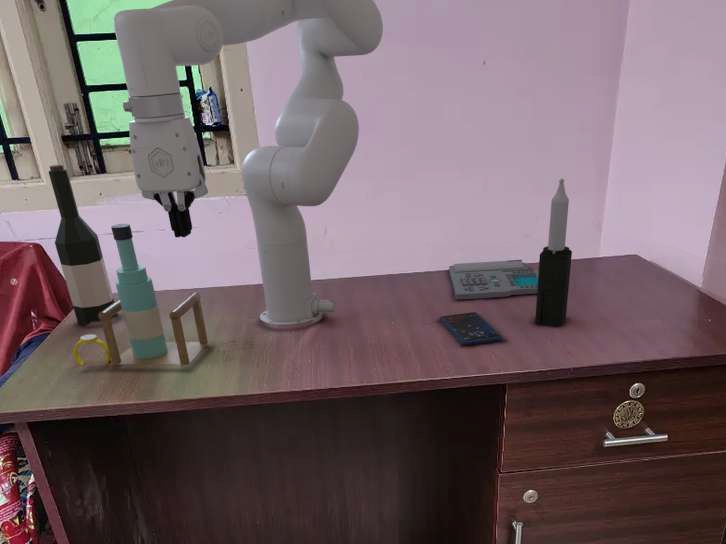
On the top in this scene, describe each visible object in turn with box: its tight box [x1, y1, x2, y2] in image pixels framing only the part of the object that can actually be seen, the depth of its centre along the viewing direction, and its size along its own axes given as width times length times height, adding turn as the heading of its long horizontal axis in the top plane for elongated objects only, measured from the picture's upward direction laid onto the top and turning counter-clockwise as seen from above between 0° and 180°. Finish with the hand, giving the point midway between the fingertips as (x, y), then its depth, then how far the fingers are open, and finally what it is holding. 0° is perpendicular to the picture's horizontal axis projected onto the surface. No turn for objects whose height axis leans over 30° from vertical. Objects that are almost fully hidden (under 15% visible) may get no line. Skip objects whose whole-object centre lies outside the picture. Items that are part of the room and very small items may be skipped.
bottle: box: [111, 223, 167, 359], centre depth 124 cm, size 14×6×22 cm, turn 83°
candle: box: [534, 178, 573, 327], centre depth 128 cm, size 5×5×25 cm
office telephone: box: [448, 259, 539, 300], centre depth 157 cm, size 23×3×20 cm
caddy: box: [98, 292, 210, 366], centre depth 127 cm, size 15×11×10 cm
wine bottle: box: [48, 164, 119, 327], centre depth 143 cm, size 8×8×30 cm
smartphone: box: [439, 311, 503, 346], centre depth 133 cm, size 8×1×15 cm
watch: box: [73, 333, 111, 366], centre depth 126 cm, size 6×3×6 cm, turn 93°
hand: (183, 235), depth 117 cm, fingers closed
